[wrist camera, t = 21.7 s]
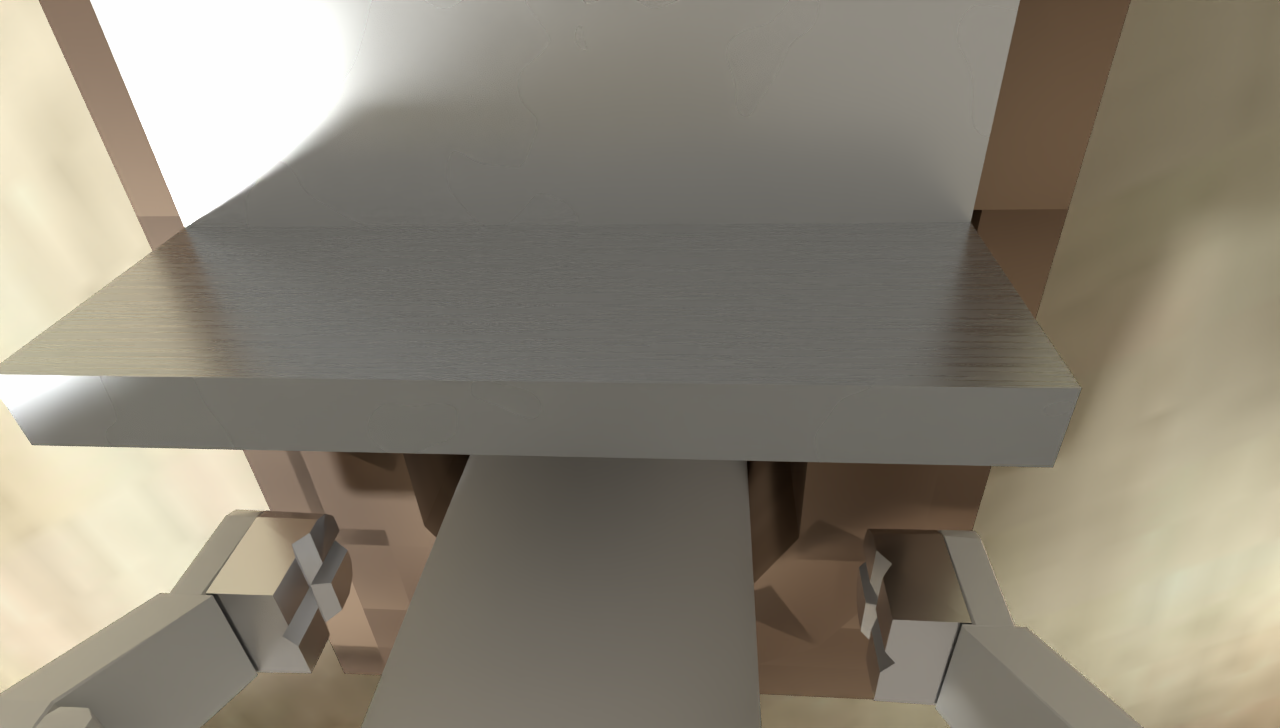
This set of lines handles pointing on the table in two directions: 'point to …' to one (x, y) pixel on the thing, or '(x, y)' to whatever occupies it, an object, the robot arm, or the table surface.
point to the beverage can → (582, 600)
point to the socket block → (778, 490)
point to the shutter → (561, 237)
